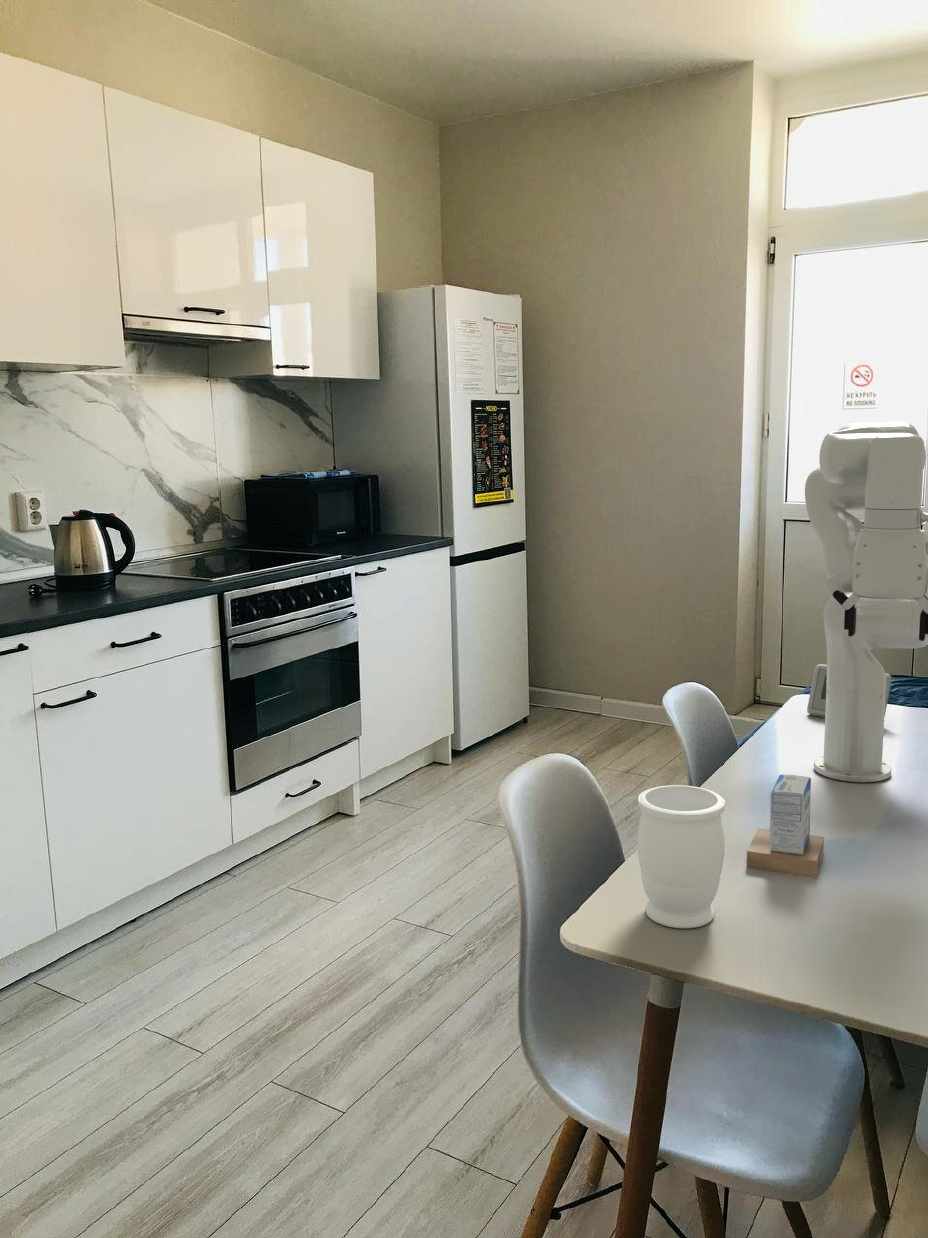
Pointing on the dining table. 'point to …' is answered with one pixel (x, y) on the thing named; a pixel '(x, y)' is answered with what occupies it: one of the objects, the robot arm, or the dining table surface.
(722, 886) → the dining table surface
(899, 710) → the dining table surface
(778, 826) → the medicine box
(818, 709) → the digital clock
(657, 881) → the jar
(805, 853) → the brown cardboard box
